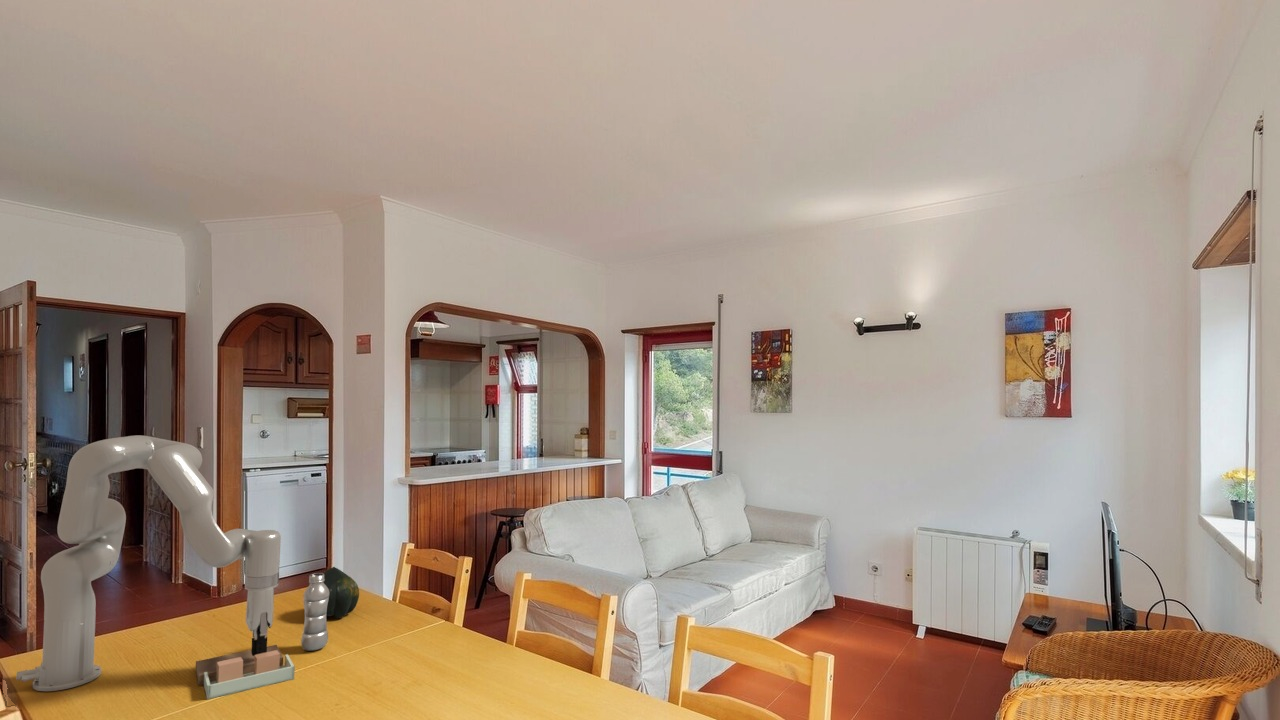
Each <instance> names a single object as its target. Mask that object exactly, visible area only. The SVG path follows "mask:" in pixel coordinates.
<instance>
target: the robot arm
mask: <svg viewBox="0 0 1280 720" xmlns="http://www.w3.org/2000/svg"><path fill="white" fill-rule="evenodd" d="M202 463H203V455H202V453H201V451H200V450H199V449H198V448H197V447H196V446H194V445H192V444H189V443H186V442H180V441H174V440H169V439H165V438H159V437H154V436H149V435H141V434H140V435H128V436H119V437H113V438H106V439H102V440H97V441H94V442H92V443H89V444H86V445H85V446H83V447H81V448H79V449H78V450H77V451H76V452H75V453H74V454H73V456H72V458H71V459H70V461H69V464H68V468H67V474H66V475H67V476H66V485H65V489H64V493H63V496H62V497H63V498H62V502H61V507H60V512H59V516H58V521H57V527H56V528H57V535H58V539H60V541H62V542H64V543H66V544H69V545H70V544H71V545H75V546H73V547H70V548H68V549H67V548H66V549H64V550H62V551H60V552H57V553H55V554H54V555H53V556H51V557H50V558H49V559H47V561H46V562H45V563H44V565H43V567H42V568H41V573H40V582H41V588H42V591H43V601H44V606H43V608H44V610H43V620H44V621H43V638H42V639H43V640H42V643H43V644H42V662H41V664H40V666H36V667H34V669H26V670H20V671H17V672H16V676H15V677H16V678H15V679H16V680H15V681H21V682H29V681H32V680H33V682H32V689H33V690H35V691H38V692H55V691H63V690H67V689H72V688H76V687H78V686H82V685H85V684H88V683H90V682H93V681H94V680H95V679H97V678H98V677H99V676H101V674H102V667H101V666H100V665H98V664H94V661H95V635H96V634H95V633H96V617H97V616H96V615H97V613H96V607H97V605H96V604H97V603H96V602H97V601H96V594H95V591H94V589H93V586H92V581H95V580H97V579H99V578H101V577H103V576H105V575H107V574H108V573H110V572H111V571H112V570H113V569H114V568H115V567H116V565H117V563H118V560H119V557H120V553H121V549H122V548H121V547H122V544H123V538H124V534H125V527H126V522H127V521H126V520H127V515H126V511H125V508H124V506H123V505H122V504H121V502H119V501H117V500H116V499H114V498H109V493H110V490H111V489H110V488H111V484H110V479H109V475H111V474H114V473H120V472H121V473H122V472H125V471H130V470H135V469H143V470H147V471H148V472H149V474H150V476H151V477H152V478H153V480H154V481H155V482H156V483H157V485H158V486H159V487H160V489H161V490H162V491H163V493H164V494H165V495H166V497H167V498H168V499H169V500H170V501H171V503H172V504H173V506H174V507H175V509H177V511H178V512H179V517H180V525H181V527H182V531H183V534H184V537H185V539H186V541H187V543H188V544H189V546H190V547H191V548H192V549H193V551H194V553H196V555H197V556H198V557H199V558H200V559H201V561H203V563H205V564H206V565H208V566H210V567H213V568H224V567H227V566H229V565H231V564H233V563H234V562H236V561H237V560H240V559H243V558H245V573H244V574H245V575H244V577H245V578H244V590H246V591H247V598H246V599H247V600H246V608H245V609H246V612H245V623H246V626H247V628H248V630H249V631H250V632H252V638H251V649H250V650H251V653H252V656H254V655H257V654H261V653H266V652H267V647H268V629H271V628H272V626H273V622H274V620H273V619H274V618H273V617H274V606H275V605H274V603H275V601H274V600H275V595H274V594H275V593H274V592H275V588H277V587H278V586H279V585H280V566H281V565H280V562H281V561H280V560H281V559H280V558H281V543H282V541H281V538H282V537H281V534H280V532H279V531H278V530H276V529H275V530H274V529H263V530H262V529H261V530H252V529H246V528H233V529H231V530H228V531H226V532H224V531H223V530H222V529H221V528H220V526H219V525H218V524H217V522H216V520H215V518H214V515H213V511H212V510H213V509H212V506H213V505H212V504H213V502H214V498H215V491H214V489H213V487H212V486H211V485H210V484H209V482H208V481H207V480H206V478H205V477H204V476H203V475H202V473H201V472H200V471H199V470H200V469H201V466H202Z"/></svg>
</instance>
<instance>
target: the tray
mask: <svg viewBox="0 0 1280 720" xmlns="http://www.w3.org/2000/svg"><path fill="white" fill-rule="evenodd" d="M284 655H285V656H284V664H283V666H279V669H278V670H273V671H269V672H264V673H260V674H256V675H254V672H252V673H248V674H244V675H243V677H242V678H238V679H233V680H229V681H225V682H220V683H216V681H212V682H210V681H209V677H208V673H207V672H204V685H203V688H204V692H205V697H206V700H211V699H216V698H221V697H224V696H228V695H229V696H230V695H233V694H237V693H240V692H245V691H250V690H254V689H258V688H262V687H266V686H271V685H275V684H279V683H283V682H287V681H291V680H295V672H296V671H295V668H296V666H295V665H294V663H293V661H292V659H291V657H290V656H289V654H288V653H287V654H284Z"/></svg>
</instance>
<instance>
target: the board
mask: <svg viewBox="0 0 1280 720" xmlns="http://www.w3.org/2000/svg"><path fill="white" fill-rule="evenodd" d="M275 650H277V651H278V652H279V653H280V664H279V666H284V656H283V654H282V652H281V650H280V648H279V647H278V645H277V644H274V645H267V652H270V651H275ZM237 657H241V658H242V660H243V675H244V674H248V673H252V672H254V656H252V653H251V649H249V650H245V651H240V652H239V651H238V652H235V653H229V654H223V655H220V656H215V657H211V658H205V659H199V660H196V661H195V675H196V676H195V677H196V680H197V684H198V687H201V686H204V672H207V673H208V677H209V681H210V682H212V681H216V672H217V662H220V661H224V660H228V659H233V658H237Z"/></svg>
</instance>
